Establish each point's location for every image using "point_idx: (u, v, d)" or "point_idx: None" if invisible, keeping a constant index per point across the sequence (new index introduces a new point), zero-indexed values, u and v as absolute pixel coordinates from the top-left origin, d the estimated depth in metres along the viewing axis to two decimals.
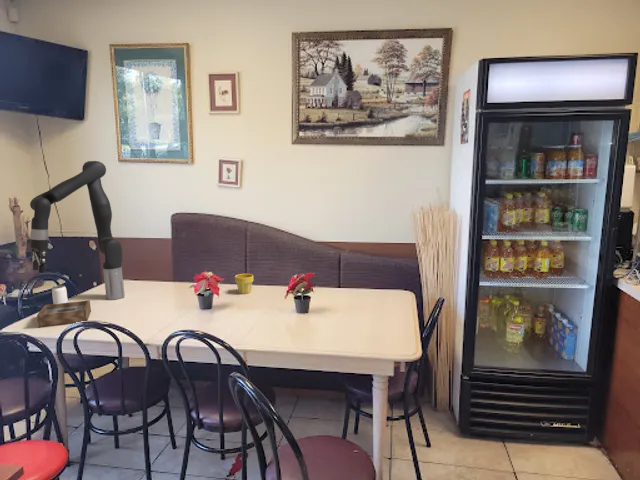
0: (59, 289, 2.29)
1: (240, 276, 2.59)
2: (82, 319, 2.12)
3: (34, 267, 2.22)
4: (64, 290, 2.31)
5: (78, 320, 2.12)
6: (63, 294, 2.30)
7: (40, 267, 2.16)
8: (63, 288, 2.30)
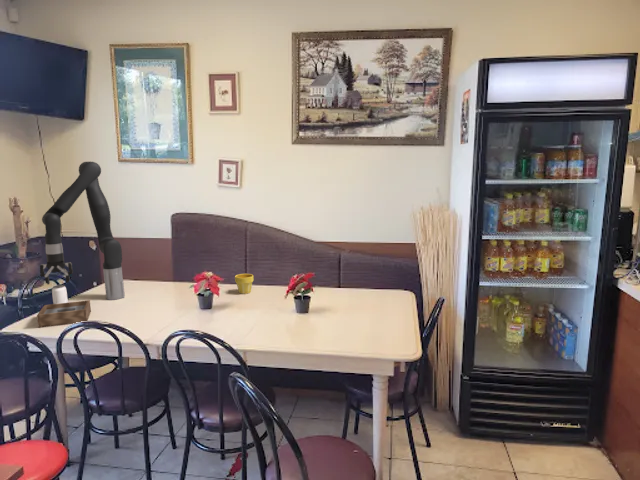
0: (59, 289, 2.29)
1: (240, 276, 2.59)
2: (82, 319, 2.12)
3: (48, 281, 2.28)
4: (64, 290, 2.31)
5: (78, 320, 2.12)
6: (63, 294, 2.30)
7: (68, 277, 2.31)
8: (63, 288, 2.30)
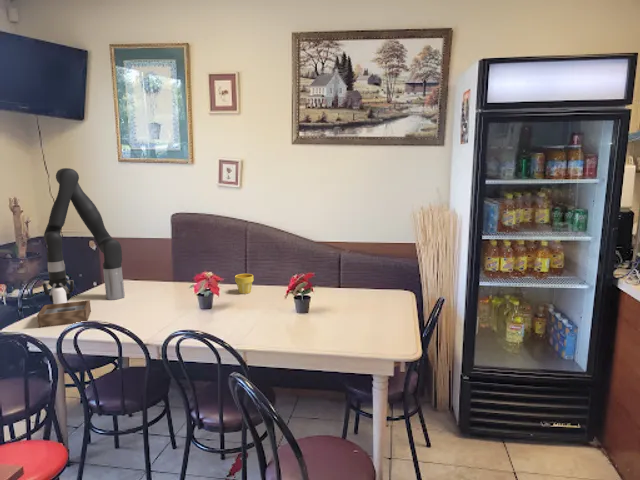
0: (59, 289, 2.29)
1: (240, 276, 2.59)
2: (82, 319, 2.12)
3: None
4: (64, 290, 2.31)
5: (78, 320, 2.12)
6: (63, 294, 2.30)
7: (68, 295, 2.33)
8: (63, 288, 2.30)
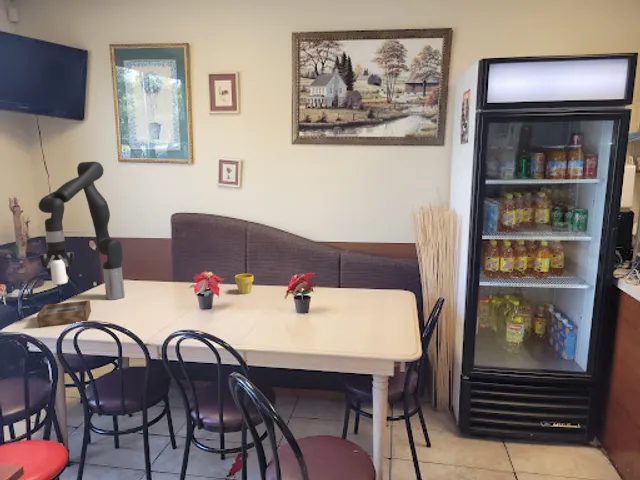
0: (58, 261, 2.11)
1: (240, 276, 2.59)
2: (82, 319, 2.12)
3: None
4: (63, 263, 2.13)
5: (78, 320, 2.12)
6: (62, 267, 2.12)
7: (68, 268, 2.15)
8: None
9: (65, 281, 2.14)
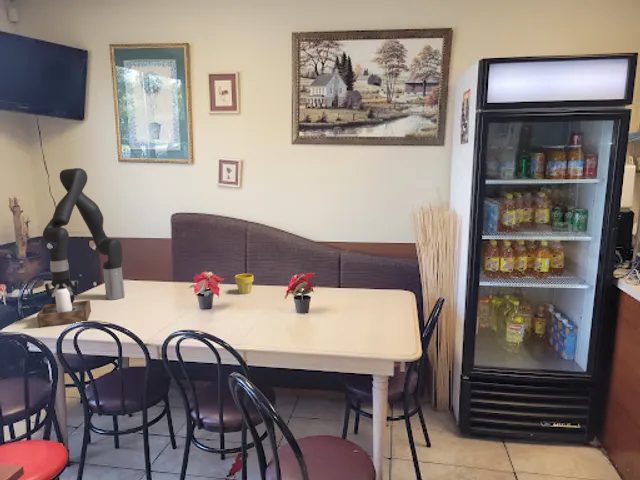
0: (62, 290, 2.12)
1: (240, 276, 2.59)
2: (82, 319, 2.12)
3: None
4: (68, 291, 2.14)
5: (78, 320, 2.12)
6: (67, 296, 2.14)
7: (72, 297, 2.16)
8: None
9: (70, 309, 2.16)
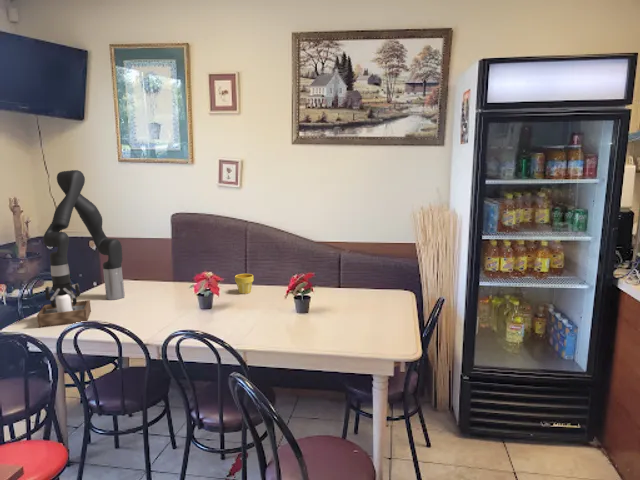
0: (63, 296, 2.12)
1: (240, 276, 2.59)
2: (82, 319, 2.12)
3: (54, 304, 2.14)
4: (69, 297, 2.14)
5: (78, 320, 2.12)
6: (67, 302, 2.14)
7: (75, 300, 2.17)
8: (67, 295, 2.14)
9: None
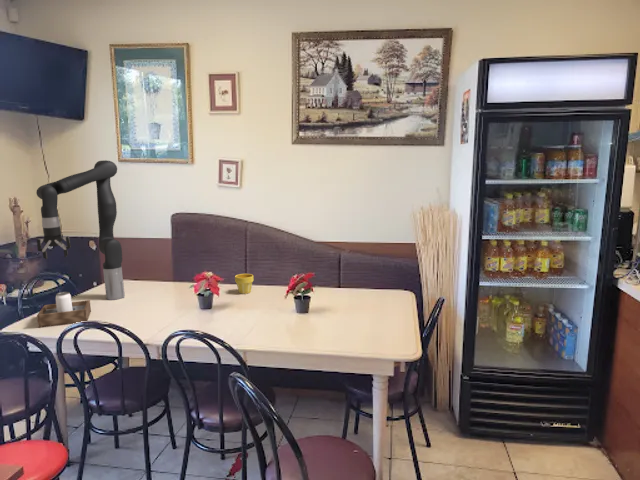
0: (63, 296, 2.13)
1: (240, 276, 2.59)
2: (82, 319, 2.12)
3: (46, 256, 2.23)
4: (69, 297, 2.15)
5: (78, 320, 2.12)
6: (67, 302, 2.14)
7: (66, 251, 2.26)
8: (67, 295, 2.14)
9: None
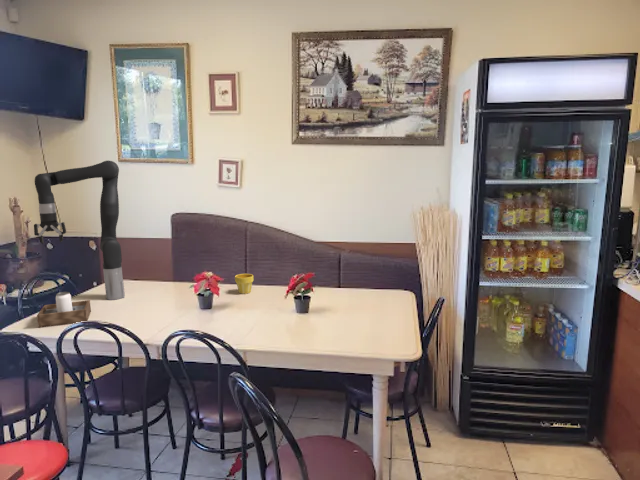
0: (63, 296, 2.13)
1: (240, 276, 2.59)
2: (82, 319, 2.12)
3: (42, 240, 2.35)
4: (69, 297, 2.15)
5: (78, 320, 2.12)
6: (68, 302, 2.14)
7: (61, 237, 2.38)
8: (68, 295, 2.14)
9: None
